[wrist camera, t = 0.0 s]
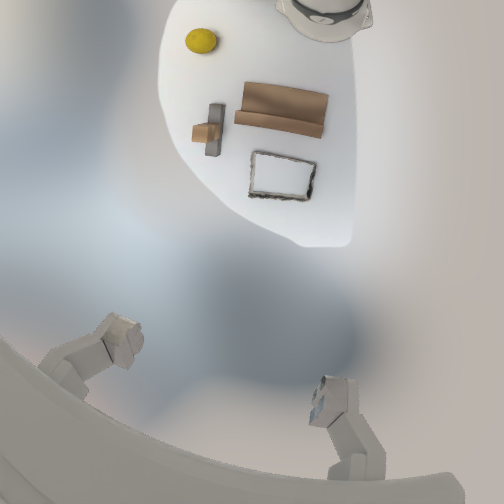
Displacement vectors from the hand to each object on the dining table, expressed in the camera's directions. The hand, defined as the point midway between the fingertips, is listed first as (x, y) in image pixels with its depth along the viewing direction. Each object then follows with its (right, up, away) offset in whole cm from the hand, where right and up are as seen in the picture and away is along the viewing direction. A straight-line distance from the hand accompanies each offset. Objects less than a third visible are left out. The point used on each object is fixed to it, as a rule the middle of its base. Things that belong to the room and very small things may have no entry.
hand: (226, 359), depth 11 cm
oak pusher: (-6, +30, +41) cm, 51 cm away
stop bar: (+7, +32, +36) cm, 49 cm away
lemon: (-8, +47, +32) cm, 57 cm away
